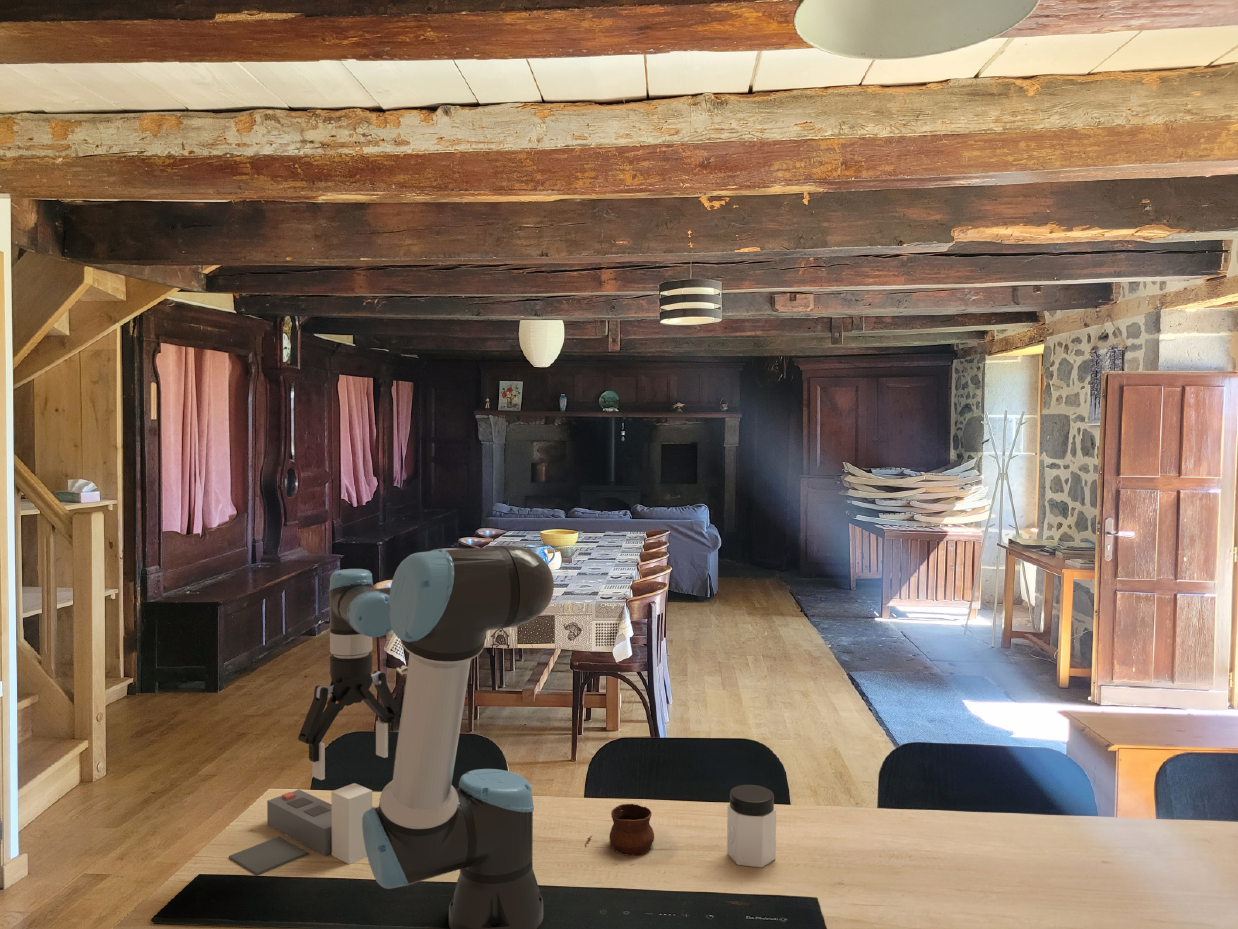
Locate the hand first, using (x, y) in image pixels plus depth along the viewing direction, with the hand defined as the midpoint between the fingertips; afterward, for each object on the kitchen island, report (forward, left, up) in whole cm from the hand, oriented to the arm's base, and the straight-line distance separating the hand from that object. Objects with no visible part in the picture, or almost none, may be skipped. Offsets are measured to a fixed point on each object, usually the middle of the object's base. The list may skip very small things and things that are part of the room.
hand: (351, 766), depth 159 cm
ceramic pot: (-39, -35, -17) cm, 55 cm away
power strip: (+13, 0, -17) cm, 21 cm away
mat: (+11, +10, -17) cm, 22 cm away
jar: (-59, -46, -17) cm, 76 cm away
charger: (+1, 0, -17) cm, 17 cm away
